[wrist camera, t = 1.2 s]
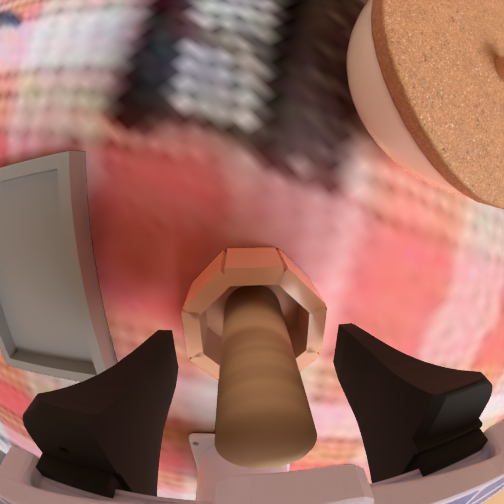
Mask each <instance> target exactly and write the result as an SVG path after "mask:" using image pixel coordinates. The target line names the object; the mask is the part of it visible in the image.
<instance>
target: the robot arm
mask: <svg viewBox="0 0 504 504" xmlns="http://www.w3.org/2000/svg"><path fill="white" fill-rule="evenodd" d="M333 362H334V366H335V370H336V373H337V376H338V380H339V382H340V384H341V386H342V389H343V391H344V393H345V395H346V397H347V400H348V402H349V404H350V406H351V408H352V410H353V413H354V415H355V417H356V420H357V423H358V426H359V429H360V432H361V436H362V439H363V443H364V447H365V451H366V455H367V460H368V464H369V469H370V474H371V480H372V484H369V482H368V479H367V477H366V474H365V471H364V469H363V468H361V467H358V466H356V465H353V464H344V465H332V466H326V467H320V468H313V469H306V470H298V471H289V466H290V464H287V465H284V466H280V467H275V468H268V469H253V468H246V467H241V466H237V465H235V464H232V463H230V462H228V461H226V460H225V459H223V458H222V457H221V456H220V455H219V454H218V452H217V451H216V449H215V444H214V440H215V434H207V433H192V434H190V435H189V442H190V446H191V449H192V453H193V457H194V460H195V463H196V467H197V470H198V479H197V490H196V501H194V500H182V499H172V498H164V497H157V481H158V467H159V457H160V449H161V442H162V435H163V430H164V425H165V422H166V418H167V415H168V411H169V408H170V404H171V401H172V398H173V394H174V391H175V387H176V381H177V374H178V363H177V357H176V352H175V346H174V340H173V334H172V330H158V331H157V332H155V333H154V334H153V335H152V336H151V337H149V338H148V339H147V340H146V341H145V342H144V343H142V344H141V345H140V346H139V347H138V348H136V349H135V350H134V351H133V352H132V353H130V354H129V355H127V356H126V357H125V358H123V359H122V360H121V361H119V362H118V363H117V364H115V365H113V366H112V367H110V368H109V369H107V370H105V371H103V372H102V373H100V374H98V375H96V376H94V377H91V378H89V379H87V380H85V381H83V382H80V383H77V384H75V385H72V386H69V387H66V388H62V389H59V390H54V391H50V392H45V393H39V394H37V396H36V397H35V398H34V400H33V401H32V403H31V404H30V406H29V407H28V408H27V410H26V411H25V413H24V414H23V422H24V426H25V428H26V430H27V431H28V433H29V435H30V436H31V437H32V439H33V440H34V442H35V443H36V445H37V446H38V447H39V449H40V450H41V451H42V455H41V457H40V459H39V458H38V457H37V456H35V455H34V454H32V453H30V452H27V451H25V450H23V449H20V448H18V447H16V446H11V448H10V450H9V451H8V453H7V455H6V456H5V458H4V460H3V462H2V463H1V465H0V500H1V501H2V502H3V503H5V504H481V503H483V502H484V501H486V500H487V499H489V498H490V497H492V496H493V495H495V494H496V493H497V492H499V491H500V490H502V488H504V419H503V420H501V421H500V422H498V423H496V424H494V425H493V426H491V427H489V428H488V429H487V430H486V431H485V432H484V433H483V432H482V431H481V429H480V427H481V426H482V422H481V421H480V419H479V417H480V415H481V413H482V412H483V410H484V408H485V406H486V405H487V403H488V401H489V399H490V396H491V393H492V384H491V383H490V382H489V380H488V379H487V378H486V377H485V376H484V375H483V374H482V373H481V372H475V371H463V370H456V369H450V368H445V367H441V366H437V365H434V364H430V363H427V362H424V361H421V360H418V359H416V358H413V357H411V356H409V355H406V354H404V353H402V352H400V351H398V350H396V349H394V348H392V347H390V346H389V345H387V344H385V343H383V342H382V341H380V340H378V339H377V338H375V337H374V336H372V335H370V334H369V333H367V332H366V331H364V330H362V329H361V328H359V327H358V326H356V325H354V324H352V323H350V324H340V325H339V327H338V334H337V341H336V348H335V354H334V361H333Z"/></svg>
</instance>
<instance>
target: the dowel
mask: <svg viewBox="0 0 504 504" xmlns="http://www.w3.org/2000/svg"><path fill="white" fill-rule="evenodd" d="M316 440H317V432H316V429H315V425H314V421H313V418H312V414H311V411H310V407H309V404H308V400H307V396H306V393H305V389H304V386H303V382H302V379H301V375H300V372H299V368H298V365H297V361H296V358H295V354H294V351H293V347H292V344H291V340H290V337H289V334H288V330H287V327H286V323H285V320H284V316H283V313H282V310H281V306H280V303H279V300H278V298H277V296H276V295H275V293H274V292H273V291H271V290H270V289H269V288H267V287H265V286H262V285H249V286H241V287H239V288H237V289H236V290H234V291H233V292H232V293H231V294H230V295H229V297H228V298H227V300H226V303H225V310H224V321H223V332H222V344H221V357H220V369H219V382H218V396H217V410H216V425H215V440H214V444H215V449H216V451H217V452H218V454H219V455H220V456H221V457H222V458H223V459H225V460H226V461H228V462H230V463H232V464H235V465H237V466H241V467H246V468H253V469H268V468H275V467H280V466H284V465H287V464H290V463H292V462H295V461H297V460H299V459H300V458H302V457H303V456H305V455H306V454H307V453H308V452H309V451H310V450H311V449H312V448H313V446H314V445H315V443H316Z"/></svg>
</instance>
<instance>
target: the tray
mask: <svg viewBox="0 0 504 504" xmlns="http://www.w3.org/2000/svg"><path fill="white" fill-rule="evenodd" d="M0 349H1V352H2V354H3V357H4V359H5V361H6V363H7V365H8V366H12V367H16V368H19V369H23V370H27V371H31V372H35V373H40V374H44V375H49V376H53V377H58V378H63V379H69V380H74V381H80V382H83V381H85V380H87V379H89V378H91V377H94V376H96V375H98V374H100V373H102V372H103V371H105V370H107V369H109V368H110V367H112V366H113V365H115V364H117V363H118V362H117V358H116V355H115V351H114V348H113V344H112V340H111V336H110V332H109V328H108V324H107V320H106V316H105V312H104V307H103V302H102V298H101V293H100V288H99V282H98V277H97V271H96V265H95V259H94V252H93V245H92V238H91V230H90V221H89V211H88V200H87V186H86V165H85V152H84V151H66V152H61V153H56V154H52V155H47V156H43V157H39V158H34V159H30V160H27V161H23V162H19V163H15V164H12V165H8V166H5V167H1V168H0Z"/></svg>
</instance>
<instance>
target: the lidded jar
mask: <svg viewBox="0 0 504 504" xmlns="http://www.w3.org/2000/svg"><path fill="white" fill-rule="evenodd" d="M347 76H348V83H349V89H350V93H351V96H352V100H353V103H354V105H355V108H356V110H357V113H358V115H359V117H360V119H361V121H362V122H363V124H364V126H365V128H366V130H367V131H368V132H369V134H370V135H371V137H372V138H373V139H374V141H375V142H376V143H377V144H378V146H379V147H380V148H381V149H382V150H383V151H384V152H385V153H386V154H387V155H388V156H389V157H390V158H391V159H392V160H393V161H394V162H395V163H397V164H398V165H399V166H400V167H401V168H403V169H404V170H406V171H407V172H409V173H410V174H412V175H413V176H415V177H417V178H418V179H420V180H422V181H424V182H426V183H428V184H431V185H433V186H435V187H437V188H440V189H442V190H445V191H447V192H451V193H454V194H458V195H462V196H466V197H469V198H471V199H473V200H475V201H477V202H480V203H483V204H487V205H490V206H494V207H498V208H502V209H503V208H504V0H369V1H368V2H367V4H366V5H365V6H364V8H363V9H362V11H361V13H360V15H359V16H358V18H357V21H356V23H355V25H354V28H353V30H352V33H351V37H350V40H349V45H348V50H347Z"/></svg>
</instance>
